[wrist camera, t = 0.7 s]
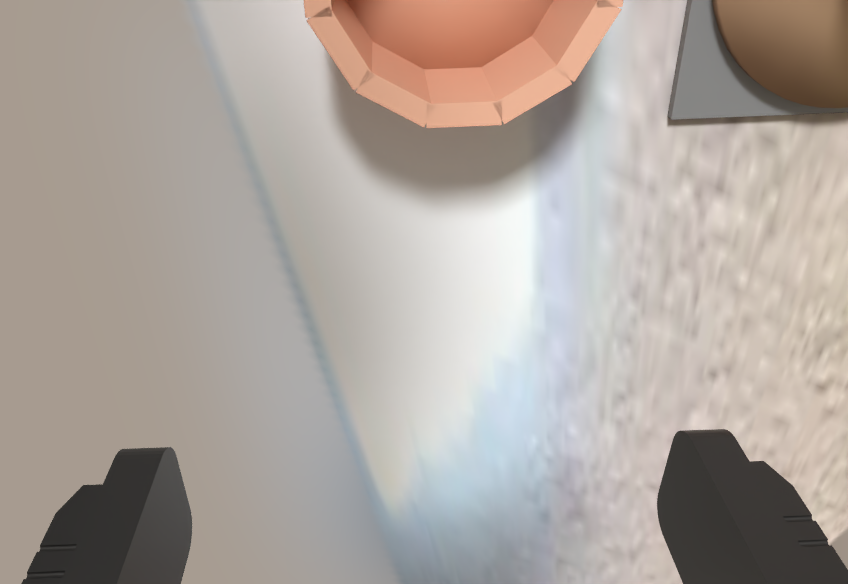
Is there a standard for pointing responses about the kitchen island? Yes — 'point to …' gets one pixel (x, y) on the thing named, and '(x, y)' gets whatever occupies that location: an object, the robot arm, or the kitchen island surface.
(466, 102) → the bowl
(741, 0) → the lid
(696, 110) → the mat
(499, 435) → the kitchen island surface
